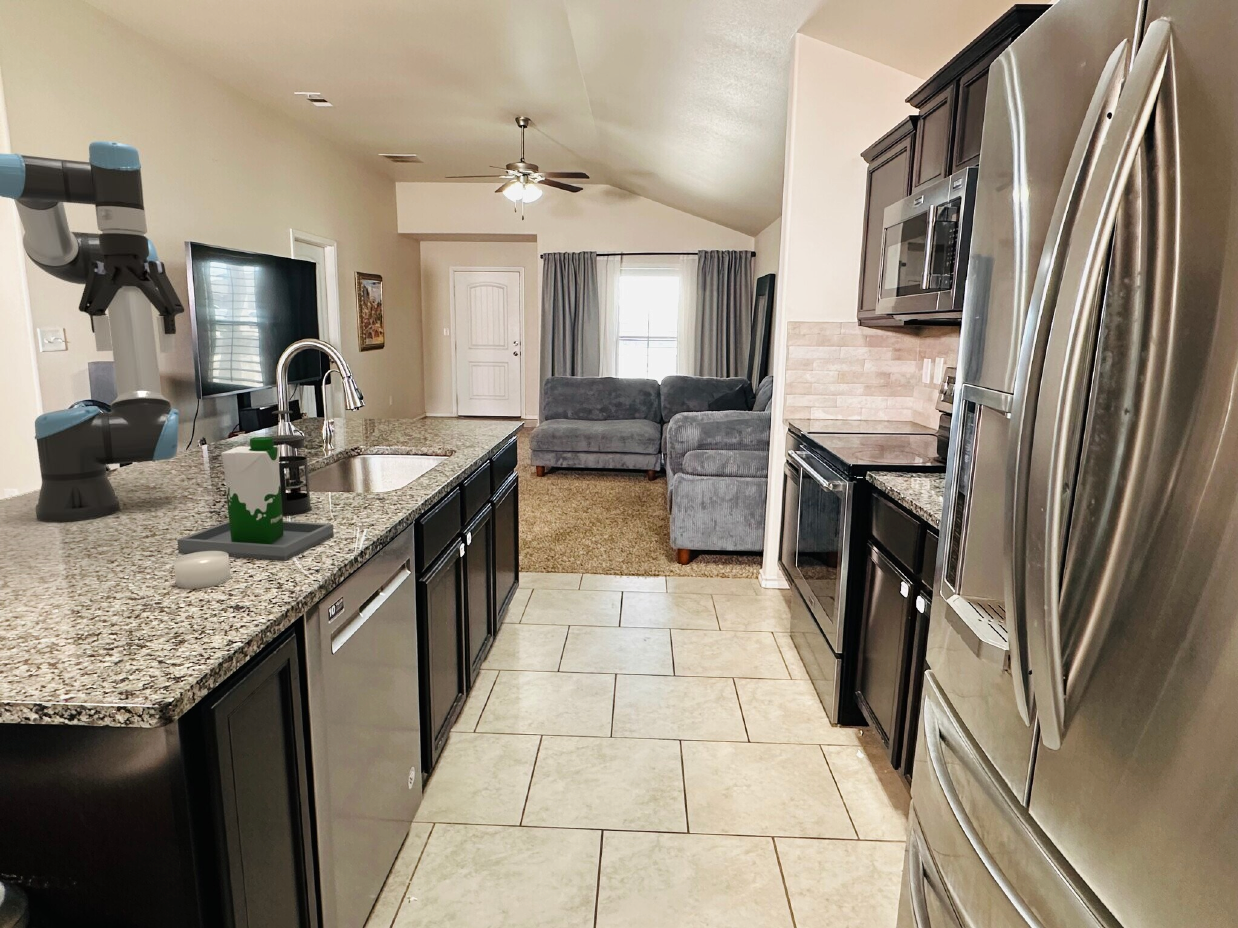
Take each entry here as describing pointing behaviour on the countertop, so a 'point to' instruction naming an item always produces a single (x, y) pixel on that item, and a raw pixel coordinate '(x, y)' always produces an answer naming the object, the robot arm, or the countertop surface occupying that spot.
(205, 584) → the cream glossy pebble
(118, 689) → the countertop surface
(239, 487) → the soya milk
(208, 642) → the countertop surface
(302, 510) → the french press
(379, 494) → the countertop surface
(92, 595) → the countertop surface
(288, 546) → the tray
